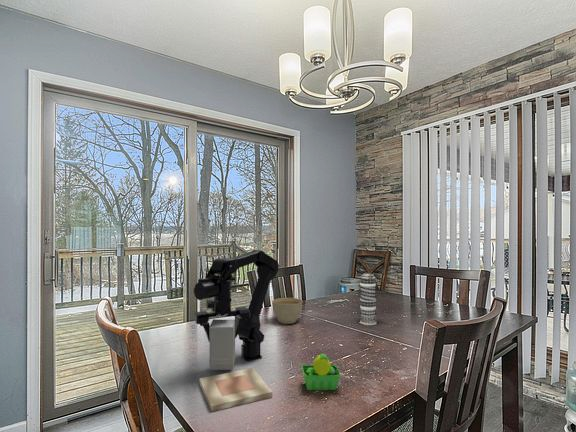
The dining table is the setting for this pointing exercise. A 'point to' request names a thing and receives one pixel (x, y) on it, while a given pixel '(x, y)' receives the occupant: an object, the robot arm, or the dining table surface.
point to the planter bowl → (287, 309)
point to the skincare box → (222, 344)
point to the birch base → (234, 389)
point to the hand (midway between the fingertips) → (222, 339)
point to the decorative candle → (368, 299)
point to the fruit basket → (321, 374)
